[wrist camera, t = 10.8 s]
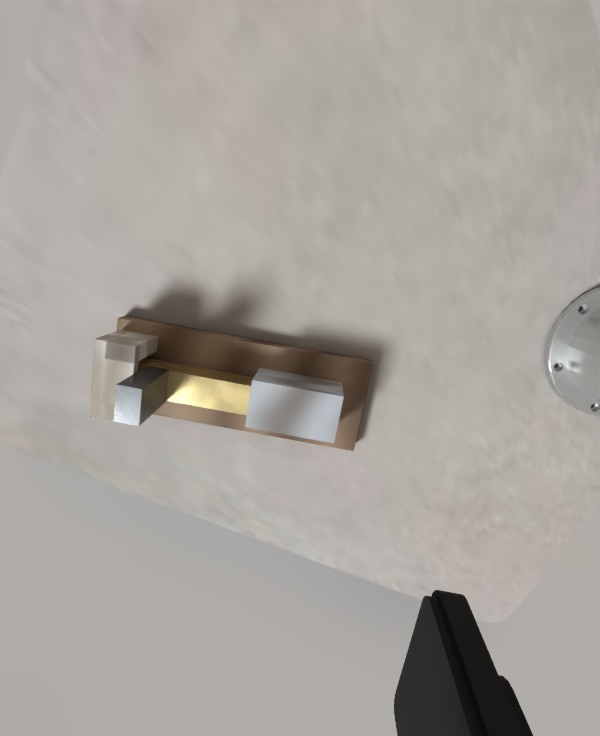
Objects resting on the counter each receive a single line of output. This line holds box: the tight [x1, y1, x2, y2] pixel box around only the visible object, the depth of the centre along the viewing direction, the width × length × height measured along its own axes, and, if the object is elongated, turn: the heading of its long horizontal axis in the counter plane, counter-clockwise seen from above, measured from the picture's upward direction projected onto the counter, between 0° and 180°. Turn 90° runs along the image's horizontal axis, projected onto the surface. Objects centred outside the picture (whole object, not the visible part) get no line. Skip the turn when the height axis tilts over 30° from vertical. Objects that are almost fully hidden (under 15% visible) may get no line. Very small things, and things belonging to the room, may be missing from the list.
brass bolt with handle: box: [114, 358, 254, 426], centre depth 37 cm, size 15×3×9 cm, turn 80°
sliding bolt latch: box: [90, 316, 373, 451], centre depth 41 cm, size 24×9×7 cm, turn 80°
